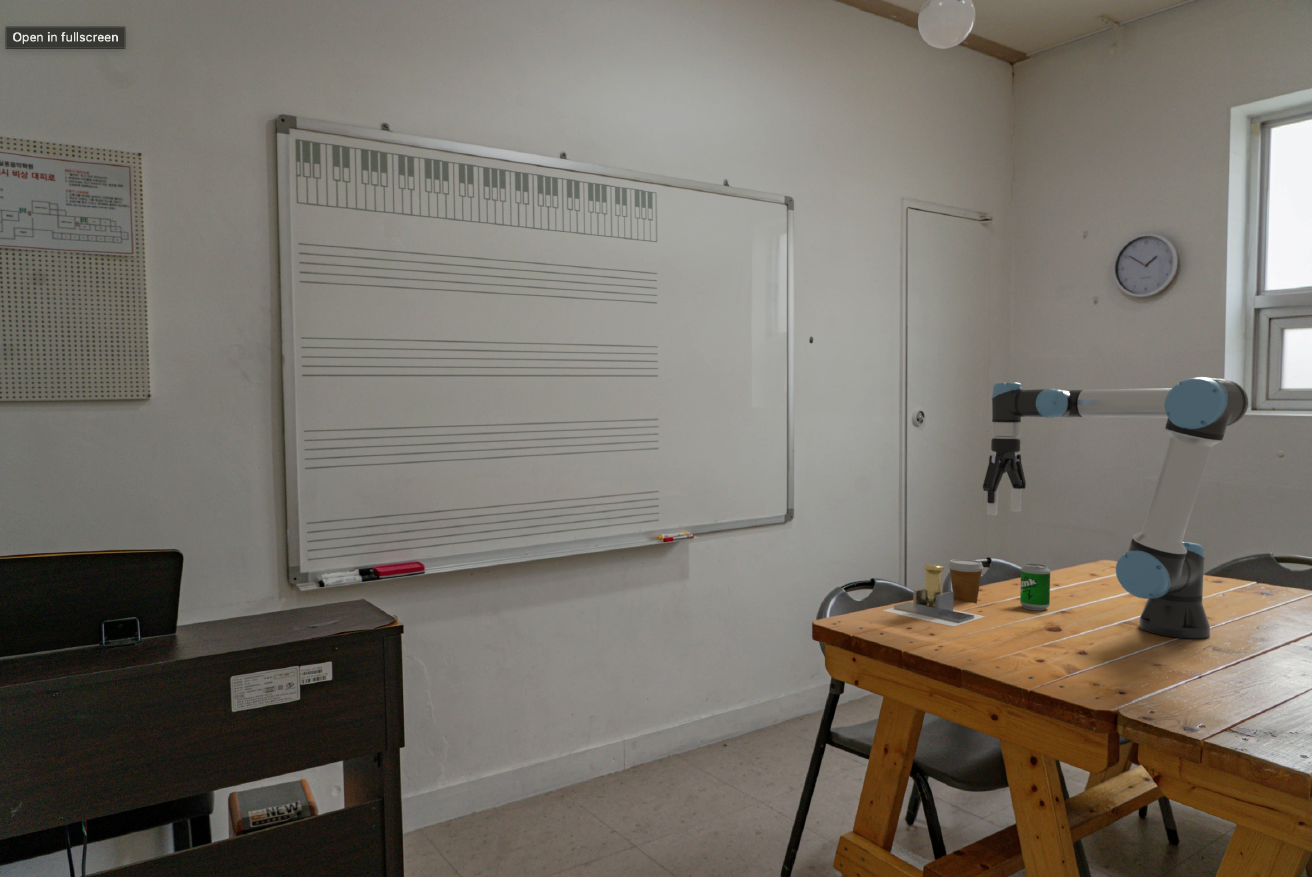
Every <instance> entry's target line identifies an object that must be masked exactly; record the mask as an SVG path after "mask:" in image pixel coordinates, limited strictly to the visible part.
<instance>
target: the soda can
mask: <svg viewBox="0 0 1312 877" xmlns="http://www.w3.org/2000/svg"><path fill="white" fill-rule="evenodd" d="M1019 594H1020V595H1019V596H1020V598H1019V599H1020V600H1019V601H1020V602H1019V603H1020V604H1021V606H1022V607H1023V608H1024V609H1027V610H1030V611H1031V610H1032V611H1046V610H1047V609H1048V608H1049V607H1050V602H1051V600H1050V599H1051V597H1050V596H1051V570H1050V569H1049V567H1048V566H1047V565H1045V564H1040V563H1025V564H1024V565H1022V566H1021V568H1020V592H1019Z"/></svg>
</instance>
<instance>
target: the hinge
mask: <svg viewBox="0 0 1312 877" xmlns="http://www.w3.org/2000/svg"><path fill="white" fill-rule="evenodd" d="M925 592H926V587H923V588H920V589H914V590H913V596H912V597H913V599H912V600H913V601H912V602H911V601H907V602H902V603H899V604H896V605H895V604H894V605H893V608H894V609H898V610H902V611H907V612H912V613H916V614H920V615H925V616H930V617H934V618H939V619H944V620H948V621H953V622H958V623H961V622H964V621H968V620H971V619H974V615H970V614H965V613H960V612H955V611H953V610H954V599H953V596H954V592H953V591H952V590H950V591H946V592H941V594H938V595H936V607H931V606H926V605H925Z"/></svg>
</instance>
